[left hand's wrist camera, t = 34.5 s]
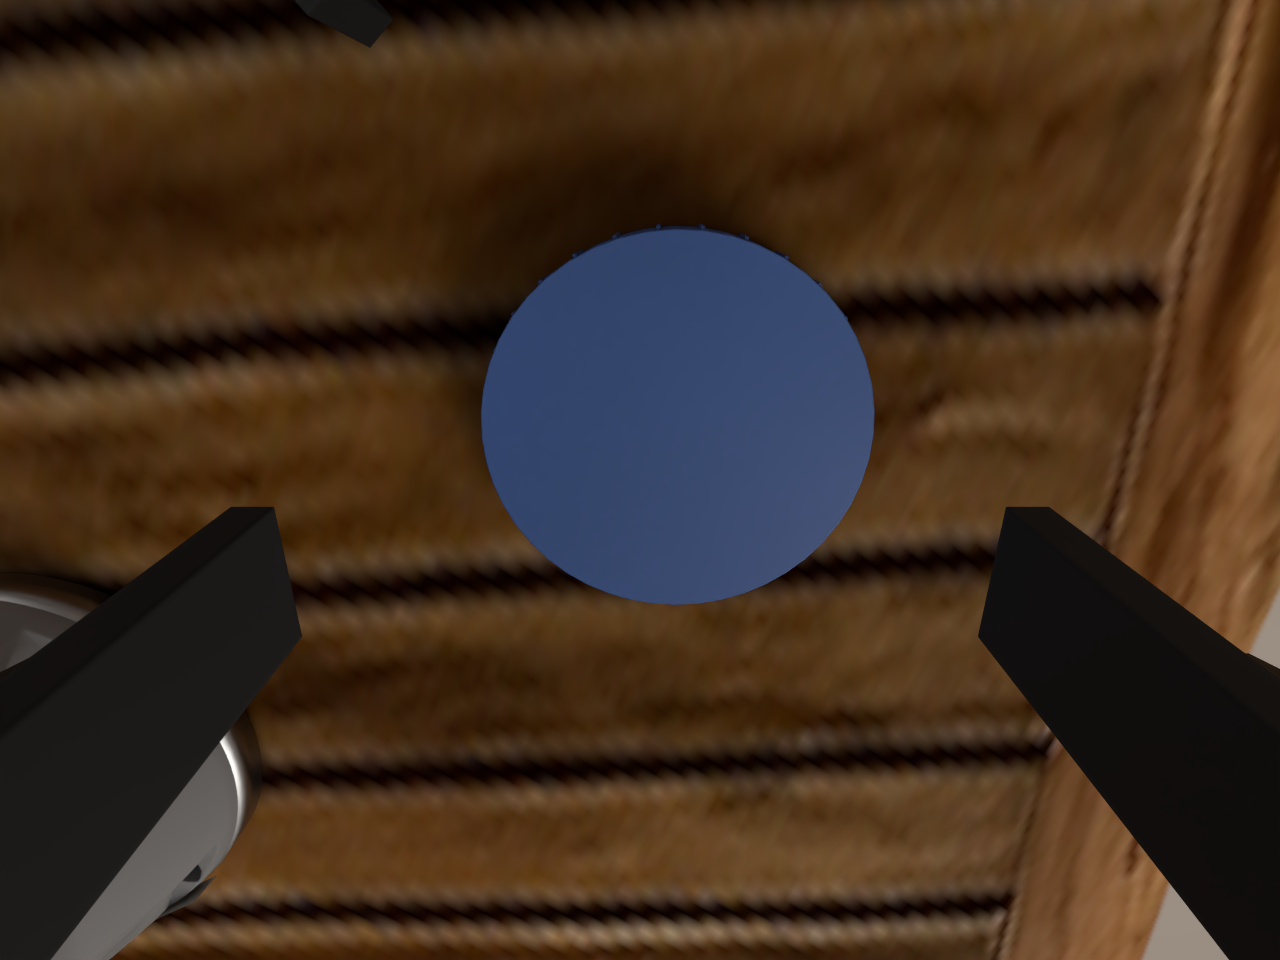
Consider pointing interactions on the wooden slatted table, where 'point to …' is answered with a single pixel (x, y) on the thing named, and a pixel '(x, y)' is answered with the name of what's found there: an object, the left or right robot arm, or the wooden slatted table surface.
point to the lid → (677, 415)
